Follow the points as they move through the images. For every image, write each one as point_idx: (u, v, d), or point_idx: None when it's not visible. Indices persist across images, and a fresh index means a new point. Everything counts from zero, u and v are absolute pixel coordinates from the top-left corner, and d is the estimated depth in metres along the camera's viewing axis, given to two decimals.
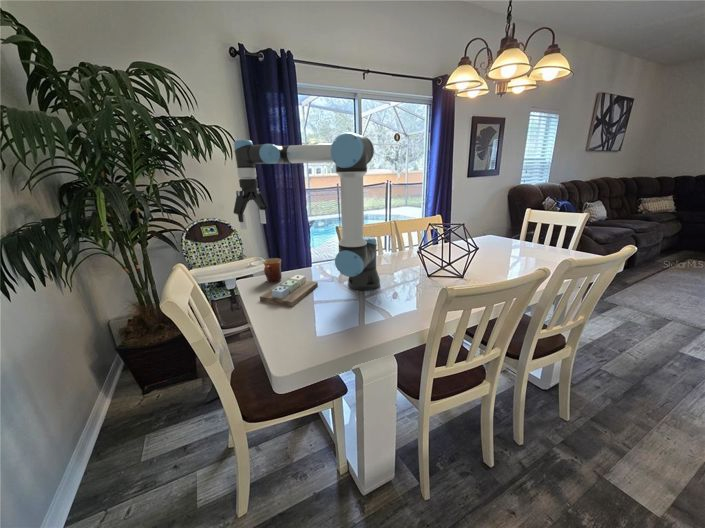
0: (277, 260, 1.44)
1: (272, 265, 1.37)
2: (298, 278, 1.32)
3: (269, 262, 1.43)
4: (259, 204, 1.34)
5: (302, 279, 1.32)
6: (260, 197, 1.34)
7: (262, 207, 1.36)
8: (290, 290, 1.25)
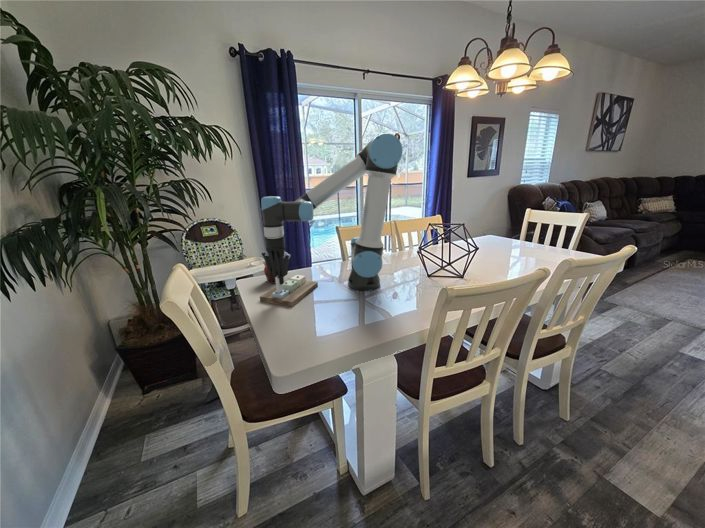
0: None
1: None
2: (298, 278, 1.32)
3: None
4: None
5: (302, 279, 1.32)
6: None
7: None
8: (290, 290, 1.25)
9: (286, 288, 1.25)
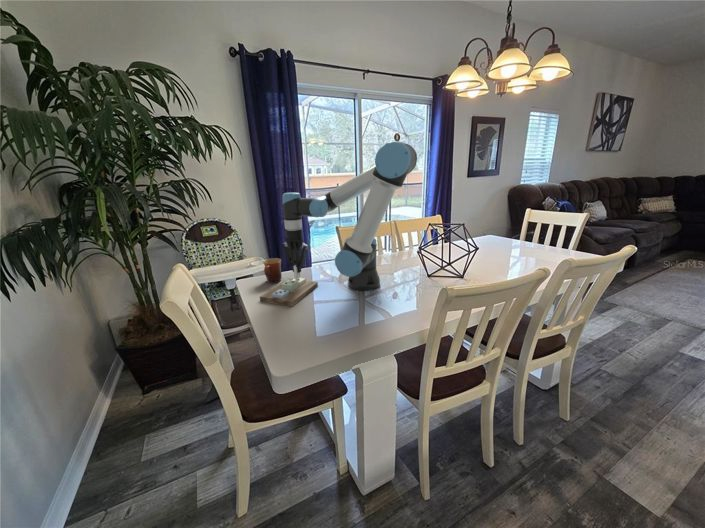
0: (277, 260, 1.44)
1: (272, 265, 1.37)
2: (298, 281, 1.32)
3: (269, 262, 1.43)
4: None
5: (302, 281, 1.33)
6: None
7: None
8: (290, 290, 1.25)
9: (286, 288, 1.25)
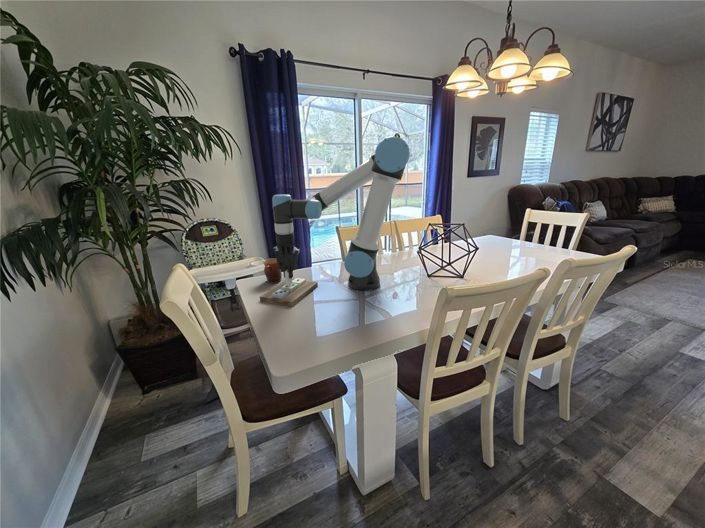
0: None
1: (272, 265, 1.37)
2: (298, 281, 1.32)
3: (269, 262, 1.43)
4: None
5: (302, 282, 1.33)
6: None
7: (288, 267, 1.24)
8: None
9: None
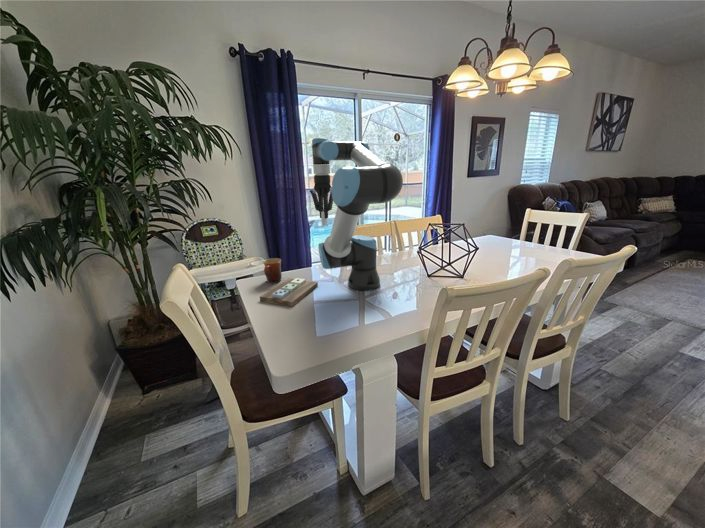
0: (277, 260, 1.44)
1: (272, 265, 1.37)
2: (298, 281, 1.32)
3: (269, 262, 1.43)
4: None
5: (302, 282, 1.33)
6: None
7: (324, 208, 1.36)
8: None
9: None
